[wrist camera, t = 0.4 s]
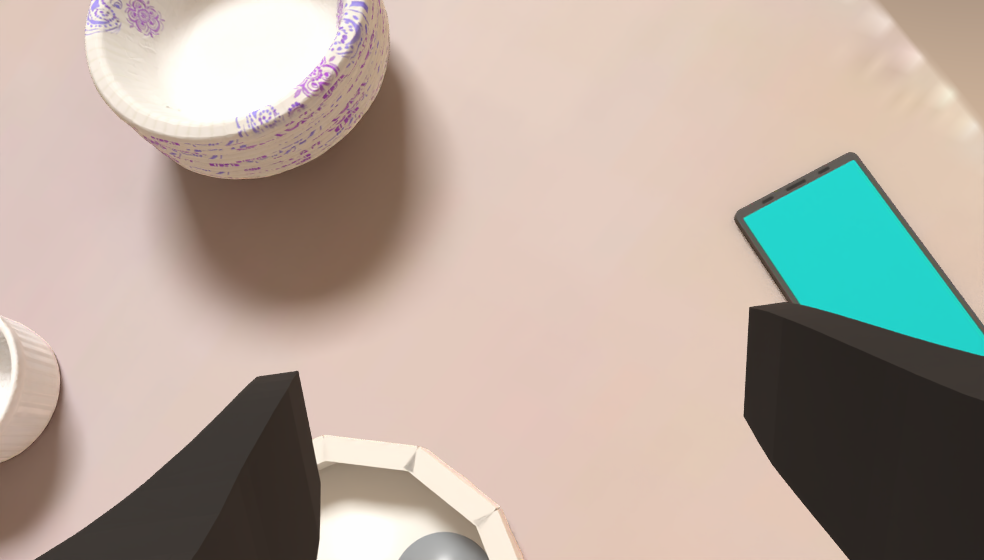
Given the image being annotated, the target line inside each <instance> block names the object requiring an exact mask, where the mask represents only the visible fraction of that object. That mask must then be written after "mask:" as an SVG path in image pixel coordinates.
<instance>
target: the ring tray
mask: <svg viewBox="0 0 984 560" xmlns="http://www.w3.org/2000/svg"><path fill="white" fill-rule="evenodd" d="M312 442H313V447H314V452H315V457H316V462H317V467H318V472H319V476H320V481H321V507H320V541H319V548H318V555H317V560H524V558H523V555H522V553H521V551H520V548H519V546H518V544H517V542H516V540H515V538H514V536H513V534H512V532H511V530H510V527H509V525H508V522H507V520H506V518H505V515H504V513H503V510H502V509H499V508H500V506H499V505H498V504H496V503H495V502H494V501H492V500H491V499H490V498H489V497H487V496H486V495H485V494H484V493H482V492H481V491H480V490H479V489H478V488H477V487H475V486H474V485H473V484H472V483H471V482H470V481H469V480H468V479H467V478H465V477H464V476H463V475H461V474H460V473H458V472H457V471H455V470H454V469H452V468H451V467H449V466H448V465H447V464H446V463H444V462H443V461H442V460H441V459H439V458H438V457H437V456H436V455H434V454H433V453H432V452H430V451H429V450H428V449H425V448H423V447H419V446H413V445H405V444H397V443H388V442H380V441H372V440H364V439H355V438H347V437H339V436H331V435H325V436H324V435H322V436H319V437H317V438H315V439H313V440H312Z"/></svg>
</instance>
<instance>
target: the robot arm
mask: <svg viewBox="0 0 984 560" xmlns="http://www.w3.org/2000/svg"><path fill="white" fill-rule="evenodd" d="M744 418H745V419H746V421H747V423H748V425H749V426H750V428H751V430H752V432H753V433H754V435H755V437H756V439H757V441H758V442H759V444H760V446H761V447H762V449H763V450H764V452H765V454H766V455H767V457H768V459H769V460H770V462H771V463H772V465H773V466H774V467H775V469H776V470H777V471H778V473H779V474H780V475H781V477H782V478H783V479H784V480H785V481H786V483H787V484H788V485H789V486H790V488H791V489H792V490H793V491H794V493H795V494H796V495H797V496H798V498H799V499H800V500H801V501H802V503H803V504H804V505H805V506H806V507H807V509H808V510H809V511H810V512H811V514H812V515H813V516H814V517H815V518H816V520H817V521H818V522H819V523H820V524H821V526H822V527H823V528H824V529H825V531H826V532H827V533H828V534H829V535H830V537H831V538H832V539H833V540H834V542H835V543H836V544H837V545H838V546H839V548H840V549H841V550H842V551H843V552H844V554H845V555H846V556H847V557H848V559H849V560H984V356H981V355H977V354H973V353H969V352H965V351H962V350H958V349H954V348H950V347H946V346H942V345H939V344H935V343H932V342H928V341H925V340H921V339H918V338H914V337H911V336H908V335H904V334H901V333H898V332H894V331H891V330H888V329H884V328H881V327H878V326H875V325H871V324H868V323H865V322H861V321H858V320H855V319H852V318H848V317H845V316H842V315H838V314H835V313H831V312H828V311H824V310H820V309H817V308H813V307H809V306H805V305H800V304H794V303H788V302H782V303H775V304H768V305H761V306H754V307H749V325H748V344H747V362H746V381H745V400H744ZM320 507H321V481H320V476H319V472H318V467H317V462H316V457H315V452H314V447H313V442H312V437H311V432H310V427H309V422H308V417H307V412H306V407H305V402H304V397H303V392H302V387H301V382H300V377H299V372H298V371H294V372H287V373H280V374H273V375H266V376H259V377H256V378H255V379H254V380H253V381H252V382H251V383H250V384H248V385H247V386H246V387H245V388H244V389H243V390H242V391H241V392H240V393H239V394H238V395H237V396H236V397H235V398H234V399H233V400H232V402H231V403H230V404H229V405H228V406H227V407H226V408H225V409H224V410H223V411H222V412H221V413H220V414H219V415H218V416H217V417H216V418H215V419H214V420H213V421H212V422H211V423H210V424H209V425H207V426H206V427H205V428H204V429H203V430H202V431H201V432H200V433H199V434H198V435H197V436H196V437H195V438H194V439H193V440H192V441H191V442H190V443H189V444H188V445H187V446H186V447H185V448H183V449H182V450H181V451H180V452H179V453H178V454H177V455H176V456H174V457H173V458H172V459H171V460H170V461H169V462H168V463H166V464H165V465H164V466H163V467H162V468H161V469H160V470H159V471H157V472H156V473H155V474H154V475H153V476H152V477H151V478H150V479H148V480H147V481H146V482H145V483H144V484H142V485H141V486H140V487H139V488H138V489H136V490H135V491H134V492H133V493H131V494H130V495H129V496H127V497H126V498H125V499H124V500H122V501H121V502H120V503H118V504H117V505H116V506H114V507H113V508H112V509H110V510H109V511H107V512H106V513H105V514H103V515H102V516H101V517H99V518H98V519H96V520H95V521H94V522H92V523H91V524H89V525H88V526H87V527H85V528H84V529H82V530H81V531H79V532H78V533H76V534H75V535H73V536H72V537H70V538H69V539H67V540H65V541H64V542H62V543H61V544H59V545H57V546H56V547H54V548H53V549H51V550H49V551H48V552H46V553H44V554H43V555H41V556H40V557H38V558H36V559H35V560H317V555H318V548H319V541H320Z"/></svg>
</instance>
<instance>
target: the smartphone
mask: <svg viewBox="0 0 984 560" xmlns="http://www.w3.org/2000/svg"><path fill="white" fill-rule="evenodd" d="M734 220H735V222H736V224H737V225H738V227H739V228H740V230H741V231H742V233H743V234H744V236H745V237H746V239H747V240H748V242H749V243H750V245H751V246H752V248H753V249H754V251H755V252H756V254H757V255H758V257H759V258H760V260H761V261H762V263H763V264H764V266H765V267H766V269H767V270H768V272H769V274H770V275H771V277H772V278H773V280H774V281H775V283H776V284H777V286H778V287H779V289H780V290H781V292H782V293H783V295H784V296H785V298H786V299H787V301H788V302H789V303H794V304H800V305H805V306H809V307H813V308H817V309H820V310H824V311H828V312H831V313H835V314H838V315H842V316H845V317H848V318H852V319H855V320H858V321H861V322H865V323H868V324H871V325H875V326H878V327H881V328H884V329H888V330H891V331H894V332H898V333H901V334H904V335H908V336H911V337H914V338H918V339H921V340H925V341H928V342H932V343H935V344H939V345H942V346H946V347H950V348H954V349H958V350H962V351H965V352H969V353H973V354H977V355H981V356H984V325H983V324H982V323H981V321H980V320H979V319H978V317H977V316H976V314H975V313H974V312H973V310H972V309H971V308H970V306H969V305H968V304H967V302H966V301H965V300H964V298H963V297H962V296H961V294H960V293H959V292H958V290H957V289H956V288H955V286H954V285H953V284H952V282H951V281H950V279H949V278H948V277H947V275H946V274H945V273H944V271H943V270H942V269H941V267H940V266H939V265H938V263H937V262H936V261H935V259H934V258H933V257H932V255H931V254H930V253H929V251H928V250H927V249H926V247H925V246H924V244H923V243H922V242H921V240H920V239H919V238H918V236H917V235H916V234H915V232H914V231H913V230H912V228H911V227H910V226H909V224H908V223H907V222H906V220H905V219H904V218H903V216H902V215H901V213H900V212H899V211H898V209H897V208H896V207H895V205H894V204H893V203H892V201H891V200H890V199H889V197H888V196H887V195H886V193H885V192H884V191H883V189H882V188H881V187H880V185H879V184H878V183H877V181H876V180H875V178H874V177H873V176H872V174H871V173H870V172H869V170H868V169H867V168H866V166H865V165H864V164H863V162H862V161H861V160H860V158H859V157H858V156H857V155H856V154H855V153H852V152H849V153H846V154H844V155H843V156H841V157H839V158H837V159H835V160H833V161H831V162H829V163H827V164H825V165H824V166H822V167H820V168H818V169H816V170H814V171H812V172H810V173H808V174H806V175H805V176H803V177H801V178H799V179H797V180H795V181H793V182H791V183H789V184H788V185H786V186H784V187H782V188H780V189H778V190H776V191H774V192H772V193H770V194H769V195H767V196H765V197H763V198H761V199H759V200H757V201H755V202H753V203H751V204H750V205H748V206H746V207H744V208H742V209H740V210H738V211H737V213H736V215H735V217H734Z"/></svg>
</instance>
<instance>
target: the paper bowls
mask: <svg viewBox="0 0 984 560" xmlns="http://www.w3.org/2000/svg"><path fill="white" fill-rule="evenodd" d="M389 50H390V42H389V24H388V16H387V12H386V10H385V7H384V4H383V0H91V3H90V7H89V10H88V13H87V20H86V27H85V51H86V58H87V63H88V67H89V71H90V74H91V77H92V79H93V82H94V84H95V86H96V89H97V91H98V92H99V94H100V96H101V97H102V98H103V100H104V101H105V103H106V104H107V105H108V106H109V107H110V108H111V109H112V111H113V112H114V113H115V114H116V115H117V116H118V117H119V118H120V119H122V120H123V121H124V122H126V123H127V124H128V125H130V126H131V127H132V128H133V129H134V130H135V131H136V132H137V133H138V134H139V135H140V136H142V137H143V138H144V139H145V140H146V141H148V142H149V143H151V144H152V145H153V146H155V147H156V148H157V149H158V150H160V151H161V152H162V153H163V154H165V155H166V156H168V157H169V158H171V159H172V160H173V161H175V162H176V163H178V164H179V165H181V166H182V167H184V168H186V169H188V170H190V171H192V172H195V173H198V174H201V175H206V176H211V177H216V178H223V179H255V178H263V177H268V176H272V175H275V174H280V173H282V172H284V171H287V170H291V169H293V168H295V167H298V166H300V165H303V164H305V163H307V162H309V161H311V160H313V159H315V158H317V157H319V156H320V155H322V154H323V153H325V152H326V151H327V150H328V149H330V148H331V147H332V146H334V145H335V144H336V143H338V142H339V141H340V140H342V139H343V138H344V137H345V136H346V135H347V134H348V133H349V132H350V131H351V130H352V129H353V128H354V127H355V125H356V124H357V123H358V122H359V121H360V119H361V118H362V117H363V116H364V114H365V113H366V112H367V111H368V109H369V107H370V106H371V104H372V102H373V101H374V99H375V98H376V96H377V94H378V92H379V90H380V88H381V85H382V82H383V79H384V75H385V72H386V68H387V64H388V58H389Z"/></svg>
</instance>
